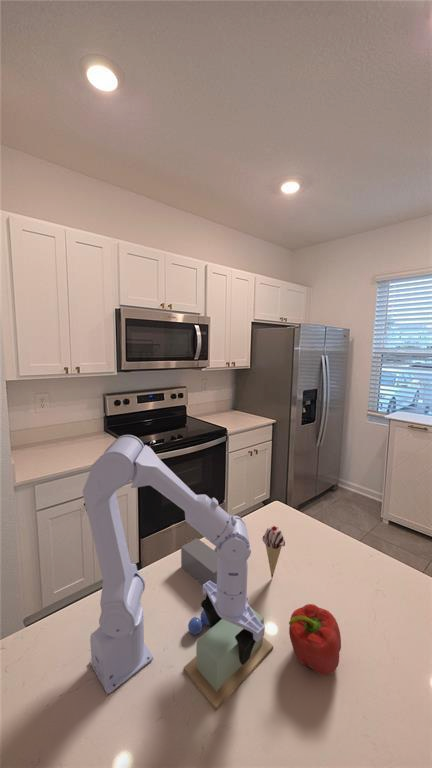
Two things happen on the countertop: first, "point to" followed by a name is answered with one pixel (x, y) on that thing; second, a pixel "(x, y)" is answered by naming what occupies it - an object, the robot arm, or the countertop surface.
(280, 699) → the countertop surface
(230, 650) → the sage cover
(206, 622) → the marble
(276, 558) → the ice cream cone
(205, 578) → the gray block
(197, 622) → the marble
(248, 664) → the cork trivet
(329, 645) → the vegetable
